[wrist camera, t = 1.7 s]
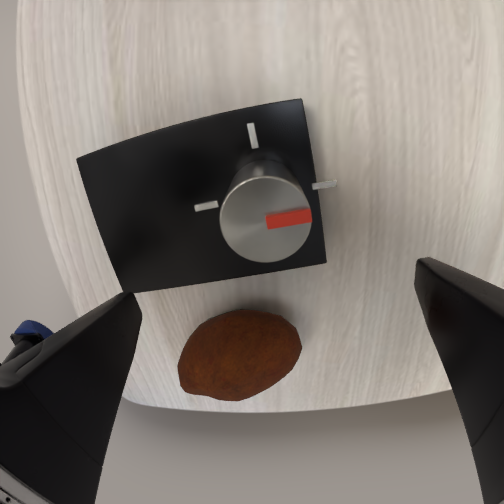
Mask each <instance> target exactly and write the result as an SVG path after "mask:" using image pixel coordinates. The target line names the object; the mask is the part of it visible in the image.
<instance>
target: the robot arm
mask: <svg viewBox="0 0 504 504" xmlns="http://www.w3.org/2000/svg"><path fill="white" fill-rule="evenodd" d="M414 286H415V291H416V294H417V297H418V300H419V302H420V306H421V309H422V312H423V315H424V318H425V321H426V324H427V327H428V330H429V332H430V335H431V337H432V339H433V342H434V344H435V346H436V349H437V351H438V354H439V356H440V359H441V361H442V364H443V366H444V369H445V371H446V374H447V376H448V379H449V382H450V384H451V387H452V390H453V393H454V395H455V398H456V401H457V404H458V407H459V410H460V413H461V416H462V419H463V422H464V425H465V429H466V432H467V435H468V439H469V442H470V446H471V447H472V453H473V457H474V461H475V465H476V469H477V473H478V477H479V481H480V486H481V491H482V495H483V501H484V504H504V289H502V288H500V287H497V286H495V285H493V284H491V283H489V282H486V281H484V280H482V279H480V278H477V277H475V276H473V275H471V274H468V273H466V272H464V271H461V270H459V269H457V268H455V267H452V266H450V265H447V264H445V263H443V262H440V261H438V260H436V259H433V258H431V257H425V258H420V259H418V260H417V262H416V270H415V280H414ZM141 322H142V312H141V309H140V307H139V305H138V302H137V300H136V298H135V295H134V294H133V293H132V292H122V293H119V294H118V295H116V296H114V297H113V298H111V299H110V300H108V301H106V302H105V303H103V304H101V305H100V306H98V307H96V308H95V309H93V310H91V311H90V312H88V313H87V314H85V315H83V316H82V317H80V318H78V319H77V320H75V321H74V322H72V323H71V324H69V325H67V326H66V327H64V328H62V329H61V330H59V331H58V332H56V333H54V334H53V335H51V336H50V337H48V338H46V339H44V338H43V336H42V335H41V334H40V333H17V334H11V336H10V337H11V340H12V341H13V343H14V344H15V347H14V348H13V349H12V351H11V352H10V353H9V355H8V356H7V357H6V359H5V360H4V361H3V363H2V364H1V363H0V504H95V499H96V494H97V490H98V485H99V481H100V476H101V472H102V466H103V463H104V458H105V455H106V451H107V447H108V443H109V439H110V435H111V432H112V427H113V424H114V421H115V417H116V413H117V410H118V406H119V403H120V400H121V396H122V393H123V390H124V386H125V383H126V380H127V377H128V373H129V370H130V367H131V364H132V361H133V357H134V353H135V349H136V344H137V340H138V335H139V331H140V326H141Z"/></svg>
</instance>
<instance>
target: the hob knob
mask: <svg viewBox="0 0 504 504" xmlns="http://www.w3.org/2000/svg"><path fill="white" fill-rule="evenodd" d="M311 222H312V216H311V210H310V206H309V203H308V201H307V199H306V197H305V195H304V193H303V190H302V188H301V186H300V184H299V182H298V180H297V178H296V177H295V175H294V174H293V172H292V171H291V170H290V169H288V168H287V167H286V166H284V165H283V164H281V163H278V162H275V161H271V160H258V161H254V162H251V163H249V164H247V165H245V166H244V167H243V168H241V169H240V170H239V171H238V172H237V173H236V175H235V176H234V178H233V180H232V182H231V184H230V187H229V189H228V191H227V193H226V196H225V198H224V200H223V203H222V205H221V209H220V215H219V224H220V229H221V232H222V235H223V237H224V239H225V241H226V242H227V244H228V245H229V246H230V247H231V248H232V249H233V250H234V251H235V252H236V253H237V254H239V255H240V256H242V257H244V258H246V259H249V260H252V261H256V262H275V261H279V260H282V259H285V258H287V257H289V256H290V255H292V254H293V253H295V252H296V251H297V250H298V249H299V248H300V247H301V246H302V245H303V243H304V242H305V241H306V239H307V237H308V235H309V232H310V228H311Z"/></svg>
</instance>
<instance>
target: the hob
mask: <svg viewBox="0 0 504 504" xmlns="http://www.w3.org/2000/svg"><path fill="white" fill-rule="evenodd" d="M76 160H77V164H78V167H79V171H80V174H81V178H82V181H83V184H84V187H85V191H86V194H87V197H88V200H89V203H90V206H91V209H92V212H93V215H94V218H95V221H96V224H97V226H98V229H99V232H100V235H101V237H102V240H103V243H104V245H105V248H106V251H107V253H108V256H109V258H110V261H111V263H112V266H113V268H114V271H115V273H116V276H117V278H118V280H119V283H120V285H121V287H122V290H123V292H132V293H140V292H147V291H154V290H161V289H167V288H174V287H181V286H188V285H194V284H201V283H207V282H214V281H220V280H227V279H233V278H239V277H246V276H252V275H258V274H264V273H270V272H276V271H282V270H288V269H294V268H300V267H306V266H312V265H318V264H323V263H326V262H327V260H326V251H325V242H324V233H323V225H322V217H321V210H320V203H319V195H318V189H322V188H328V187H335V186H337V183H336V180H330V181H323V182H316V175H315V169H314V162H313V156H312V150H311V144H310V139H309V133H308V128H307V122H306V117H305V111H304V106H303V101H302V99H301V98H300V99H293V100H287V101H280V102H274V103H269V104H263V105H258V106H253V107H247V108H243V109H238V110H233V111H228V112H224V113H220V114H215V115H211V116H207V117H203V118H199V119H195V120H191V121H187V122H184V123H180V124H176V125H173V126H169V127H166V128H162V129H159V130H156V131H152V132H149V133H146V134H143V135H140V136H137V137H134V138H131V139H128V140H125V141H122V142H119V143H116V144H113V145H110V146H108V147H105V148H102V149H100V150H97V151H94V152H92V153H89V154H87V155H84V156H81V157H79V158H77V159H76ZM258 160H271V161H275V162H278V163H281V164H283V165H284V166H286V167H287V168H288V169H290V170H291V171H292V172H293V174H294V175H295V177H296V178H297V180H298V182H299V184H300V186H301V188H302V190H303V193H304V195H305V197H306V199H307V201H308V203H309V206H310V210H311V216H312V222H311V228H310V232H309V235H308V237H307V239H306V241H305V242H304V243H303V245H302V246H301V247H300V248H299V249H298V250H297V251H296V252H295V253H293V254H292V255H290V256H289V257H287V258H285V259H282V260H279V261H275V262H256V261H252V260H249V259H246V258H244V257H242V256H240V255H239V254H237V253H236V252H235V251H234V250H233V249H232V248H231V247H230V246H229V245H228V244H227V242H226V241H225V239H224V237H223V235H222V232H221V229H220V224H219V215H220V209H221V205H222V203H223V200H224V198H225V196H226V193H227V191H228V189H229V187H230V184H231V182H232V180H233V178H234V176H235V175H236V173H237V172H238V171H239V170H240V169H241V168H243V167H244V166H245V165H247V164H249V163H251V162H254V161H258Z"/></svg>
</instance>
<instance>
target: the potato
mask: <svg viewBox="0 0 504 504" xmlns="http://www.w3.org/2000/svg"><path fill="white" fill-rule="evenodd" d="M301 350H302V345H301V341H300V338H299V334H298V332H297V330H296V328H295V327H294V326H293V325H292V324H291V323H289V322H288V321H287V320H286V319H284V318H283V317H282V316H280V315H276V314H272V313H268V312H263V311H257V310H244V309H240V310H236V311H231V312H228V313H225V314H222V315H219V316H216V317H214V318H211V319H209V320H207V321H205V322H204V323H202V324H200V325H199V327H198V328H197V329H196V330H195V331H194V332H193V334H192V335H191V336H190V337H189V339H188V341H187V342H186V344H185V346H184V348H183V351H182V353H181V356H180V359H179V362H178V366H177V367H178V374H179V380H180V386H181V387H182V389H183V390H184V391H185V392H187V393H190V394H194V395H203V396H209V397H212V398H215V399H218V400H224V401H241V400H244V399H247V398H250V397H252V396H254V395H256V394H258V393H260V392H262V391H264V390H266V389H268V388H270V387H271V386H273V385H274V384H275V383H277V382H278V381H280V380H281V379H282V378H284V377H285V376H286V375H287V374H288V373H289V372H290V371H291V370H292V369H293V367H294V365H295V364H296V362H297V360H298V359H299V356H300V353H301Z"/></svg>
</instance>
